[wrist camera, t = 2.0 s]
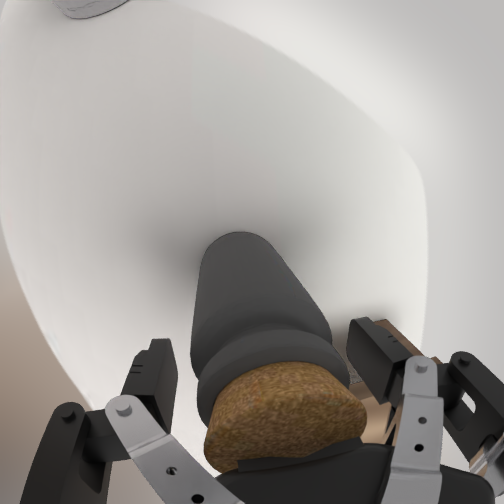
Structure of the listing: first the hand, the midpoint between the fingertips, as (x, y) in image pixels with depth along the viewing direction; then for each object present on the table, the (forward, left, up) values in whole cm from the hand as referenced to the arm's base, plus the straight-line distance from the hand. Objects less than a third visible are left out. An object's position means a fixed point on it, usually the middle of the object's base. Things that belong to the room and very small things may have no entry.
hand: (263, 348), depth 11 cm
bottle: (0, 0, -10) cm, 10 cm away
